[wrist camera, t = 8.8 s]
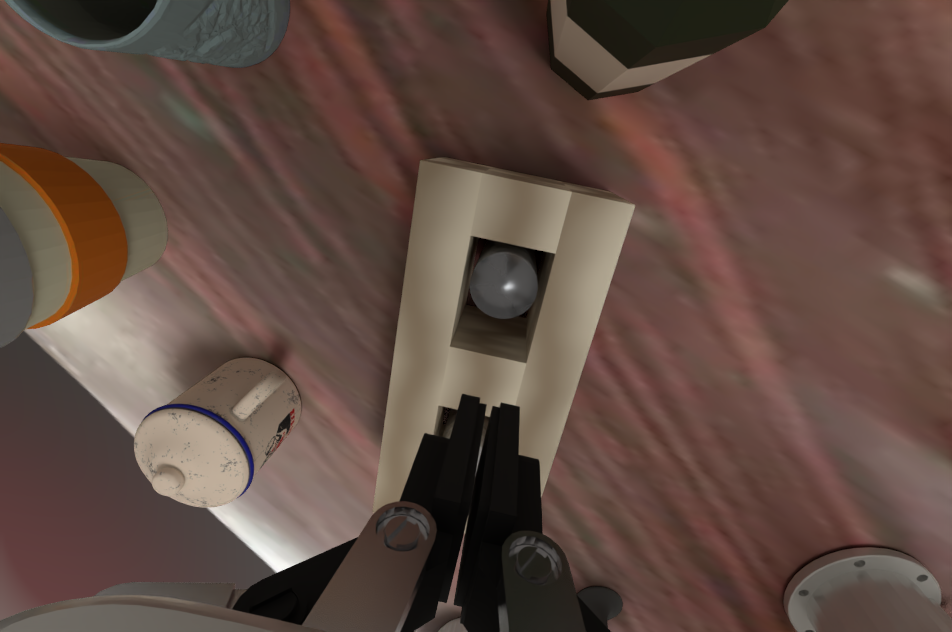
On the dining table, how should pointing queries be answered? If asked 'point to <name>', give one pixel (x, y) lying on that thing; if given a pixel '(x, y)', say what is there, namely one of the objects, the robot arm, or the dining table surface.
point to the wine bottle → (643, 38)
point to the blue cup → (165, 27)
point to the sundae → (602, 602)
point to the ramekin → (453, 626)
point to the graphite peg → (504, 280)
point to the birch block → (487, 338)
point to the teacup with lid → (218, 433)
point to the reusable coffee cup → (69, 234)
